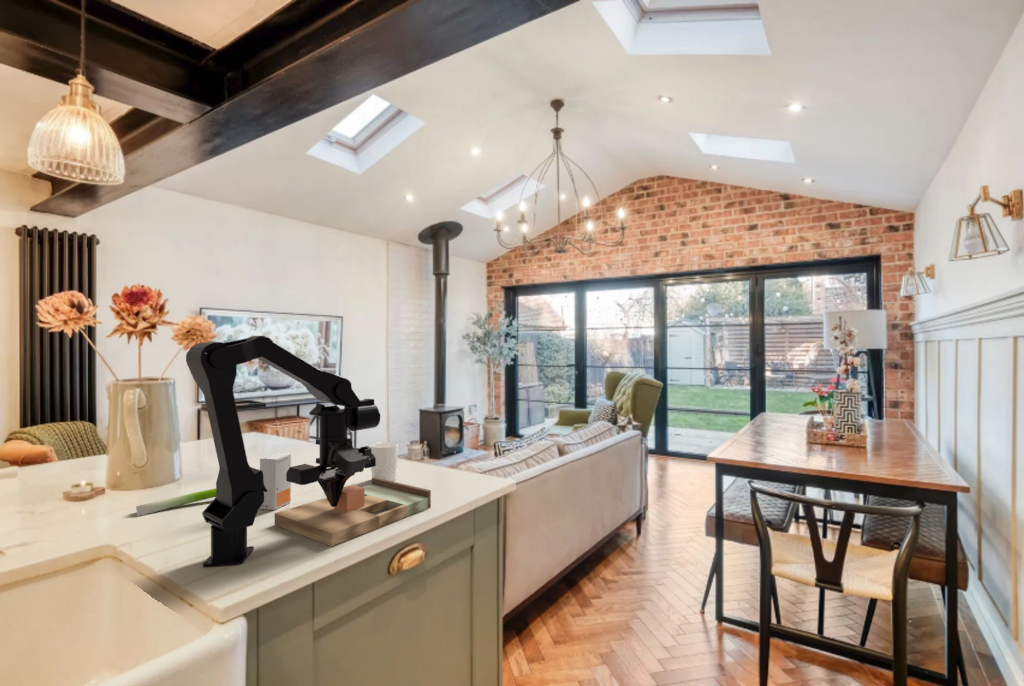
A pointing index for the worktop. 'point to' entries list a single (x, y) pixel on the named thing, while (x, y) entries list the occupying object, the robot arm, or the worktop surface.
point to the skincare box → (276, 481)
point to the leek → (174, 502)
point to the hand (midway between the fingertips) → (333, 506)
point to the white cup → (385, 460)
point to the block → (351, 498)
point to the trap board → (355, 512)
